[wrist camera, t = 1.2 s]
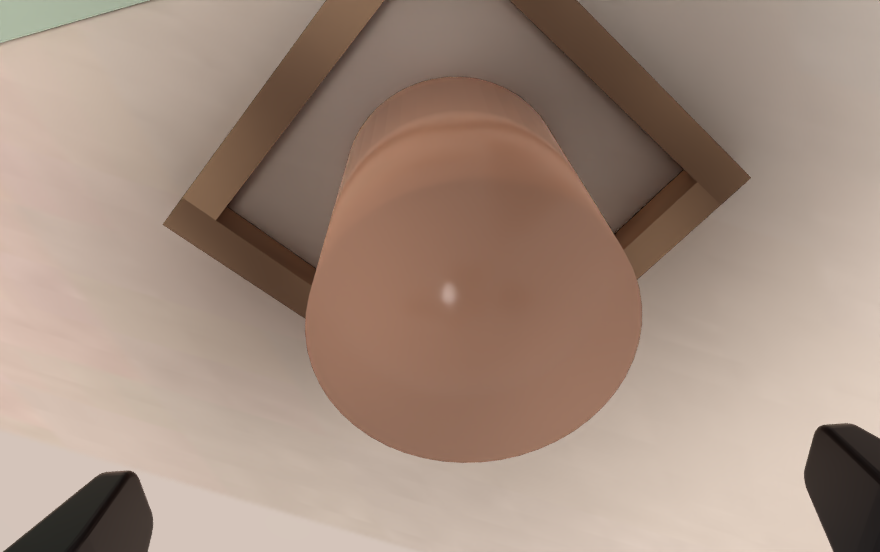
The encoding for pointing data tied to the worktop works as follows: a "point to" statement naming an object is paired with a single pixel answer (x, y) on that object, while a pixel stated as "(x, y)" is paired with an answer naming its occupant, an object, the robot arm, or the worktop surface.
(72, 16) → the sage mat
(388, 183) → the peach round cylinder
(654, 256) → the walnut collar
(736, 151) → the worktop surface
